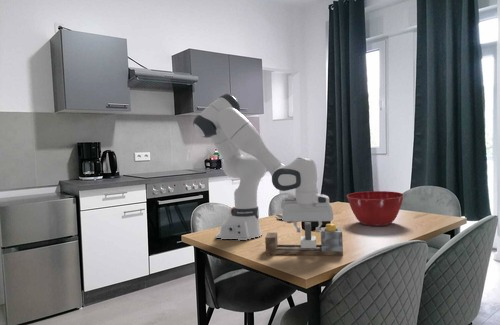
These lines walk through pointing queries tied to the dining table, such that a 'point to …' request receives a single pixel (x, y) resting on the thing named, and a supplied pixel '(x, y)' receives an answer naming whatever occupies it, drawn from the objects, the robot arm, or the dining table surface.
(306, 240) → the carriage
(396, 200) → the mixing bowl
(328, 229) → the gauge button
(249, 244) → the dining table surface
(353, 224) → the dining table surface
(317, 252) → the rail base
